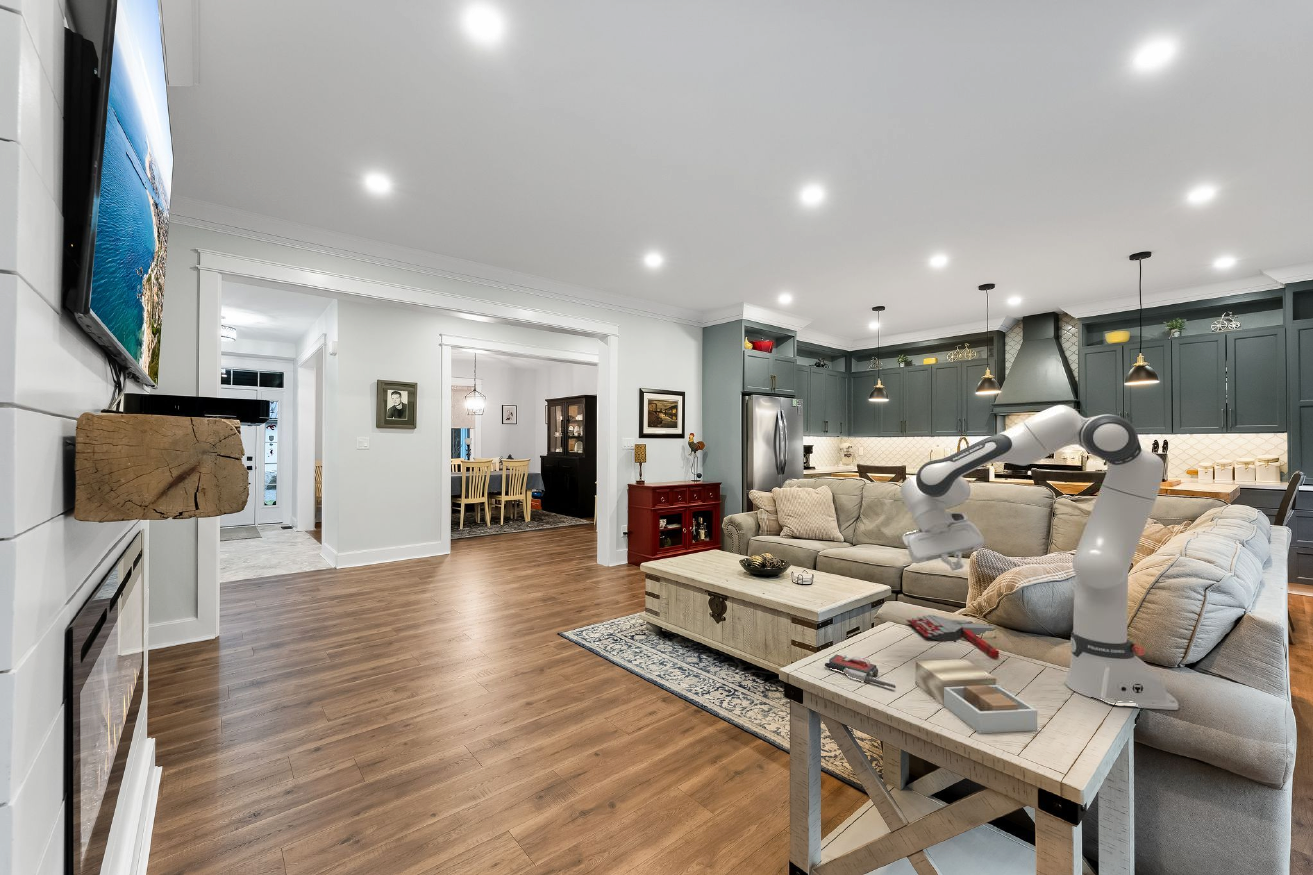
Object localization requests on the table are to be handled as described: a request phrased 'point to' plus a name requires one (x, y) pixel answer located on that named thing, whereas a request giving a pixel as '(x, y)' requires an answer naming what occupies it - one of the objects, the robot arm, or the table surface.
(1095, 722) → the table surface
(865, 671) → the toy chainsaw
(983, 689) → the walnut block
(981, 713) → the grey bin
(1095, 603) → the robot arm
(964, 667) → the pale wood block
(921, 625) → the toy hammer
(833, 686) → the table surface
